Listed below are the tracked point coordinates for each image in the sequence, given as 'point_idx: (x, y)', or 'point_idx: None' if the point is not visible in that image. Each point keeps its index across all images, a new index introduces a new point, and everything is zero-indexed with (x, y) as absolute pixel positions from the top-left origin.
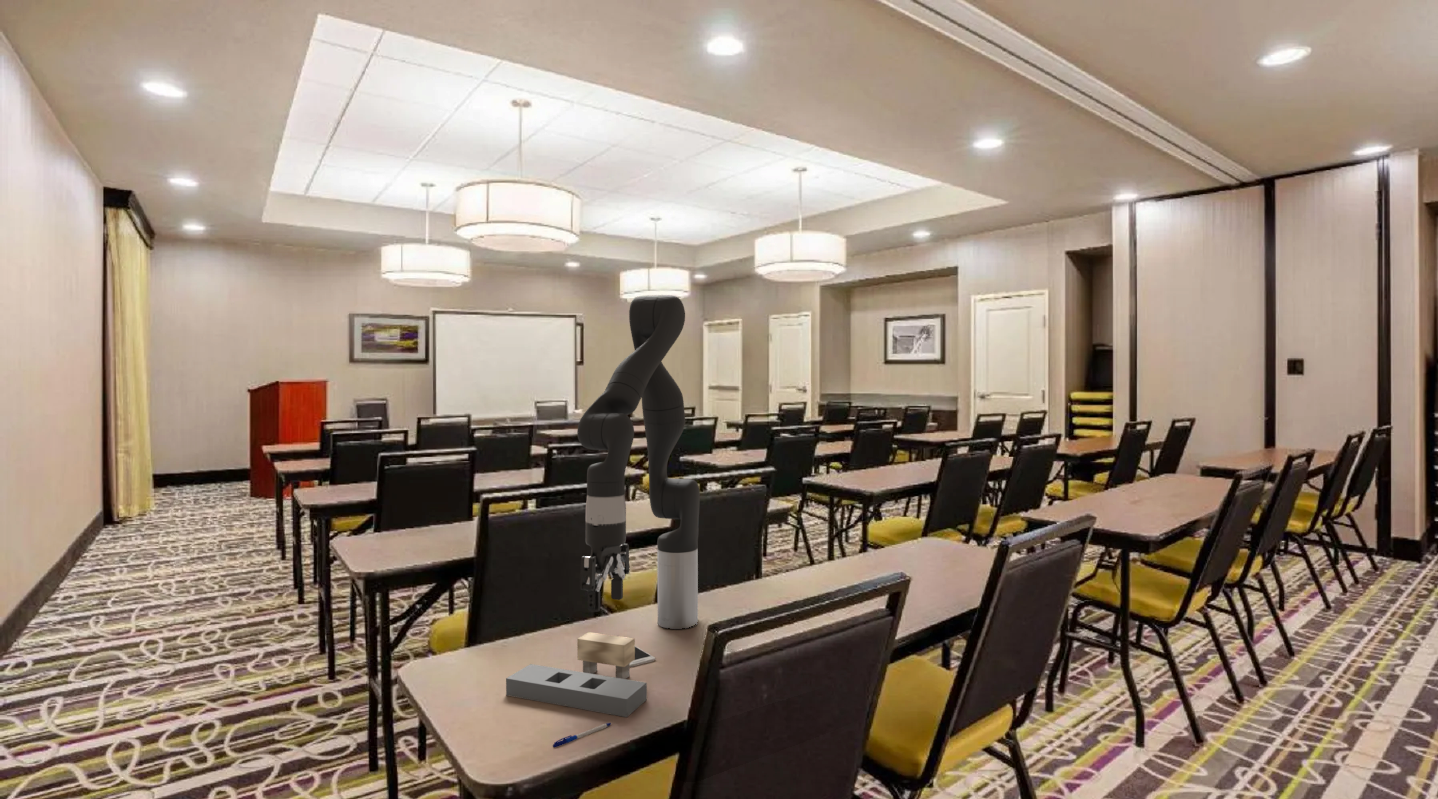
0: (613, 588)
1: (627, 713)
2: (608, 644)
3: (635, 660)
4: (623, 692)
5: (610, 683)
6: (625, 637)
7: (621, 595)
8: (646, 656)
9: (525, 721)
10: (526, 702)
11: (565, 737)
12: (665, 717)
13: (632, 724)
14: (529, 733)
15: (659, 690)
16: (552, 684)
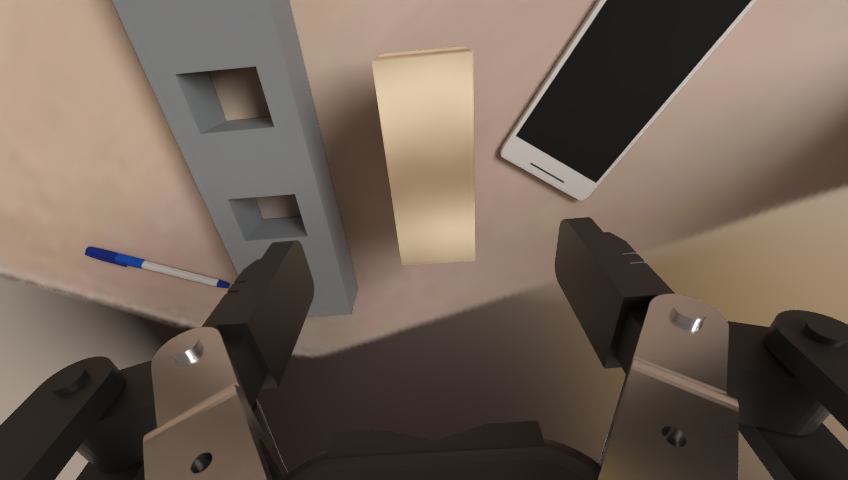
0: (586, 270)
1: None
2: (394, 208)
3: (550, 160)
4: None
5: None
6: (471, 231)
7: (565, 290)
8: (589, 173)
9: (88, 121)
10: None
11: (111, 262)
12: (317, 341)
13: None
14: (70, 172)
15: (411, 287)
16: (178, 119)
